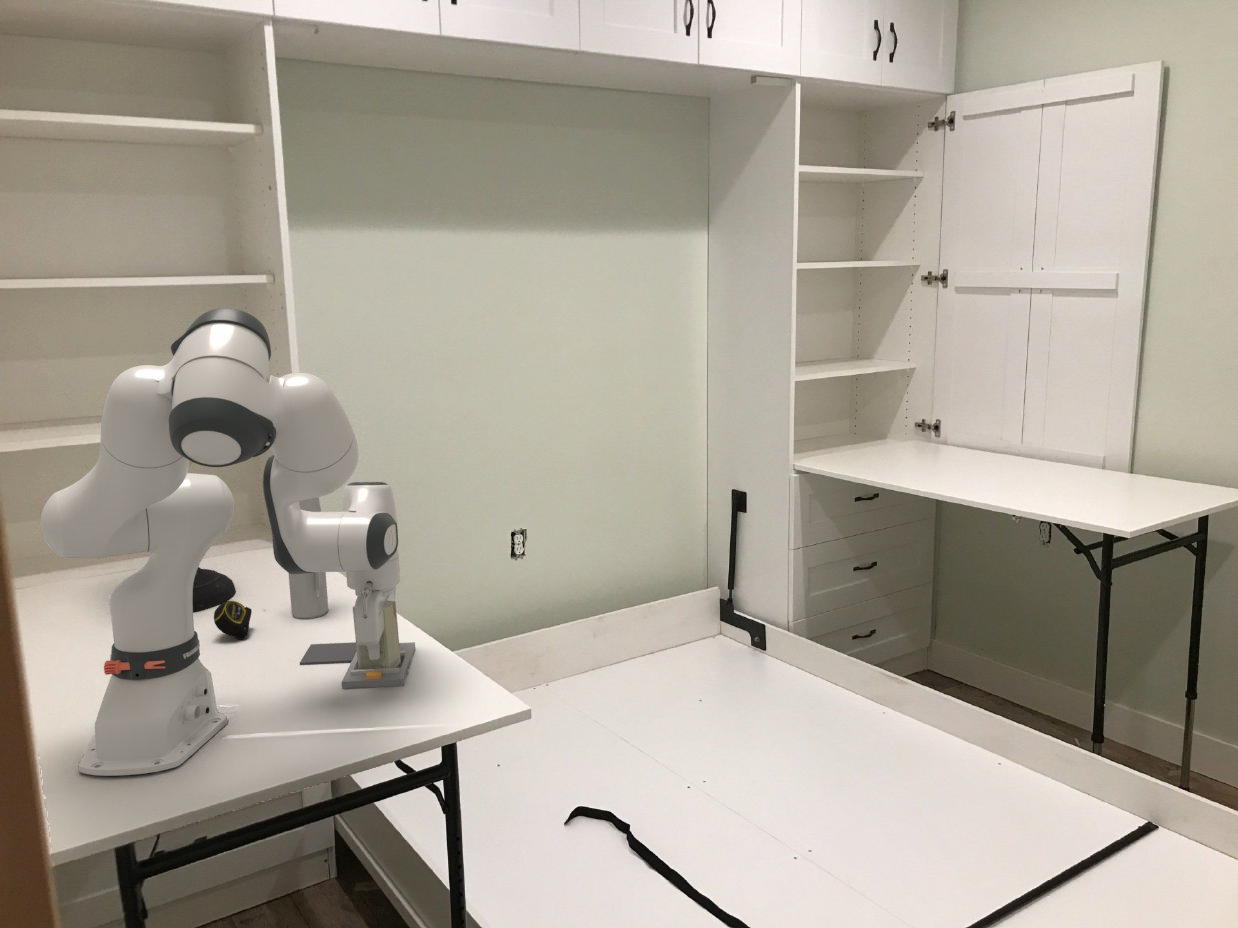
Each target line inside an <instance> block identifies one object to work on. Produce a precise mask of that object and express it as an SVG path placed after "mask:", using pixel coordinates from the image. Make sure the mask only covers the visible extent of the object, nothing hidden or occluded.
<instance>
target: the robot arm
mask: <svg viewBox="0 0 1238 928" xmlns="http://www.w3.org/2000/svg"><path fill="white" fill-rule="evenodd" d="M271 348H272V346H271V343H270V337H269V334H268V332H267V329H266V328H265V326H264V324H263V323H262V322H261V320H259V319H258V318H257V317H255V316H254V315H252V314H250V313H248V312H246V311H243V310H240V309H235V308H229V307H220V308H214V309H211V310H207V311H206V312H204V313H202V314H201V315H199V316H198V317H197V318H196V319H194V321H193V322H192V323H191V325H190V326H189V327H188V328H187V329H186V331H185V332H184V333H183V334H182V335H181V336H179V338H177V339H176V340H175V341H173V343H171V346H170V350H171V353H172V356H173V357H172V358H171V360H169V362H168V363H166V364H165V365H153V364H142V365H141V364H140V365H137V366H133V367H130V368H128V369H126V370H124V371H122V372H121V373H120V374H119V375H118V376H116V378H115V379H114V380H113V381H112V384H111V385H110V388H109V390H108V393H107V395H106V397H105V398H106V400H105V402H104V405H103V411H102V416H101V422H100V423H101V424H100V444H99V445H100V446H99V447H100V448H99V453H98V454H99V455H98V459H97V462H96V464H94V466H93V467H92V468H91V470H90V471H88V472H87V473H86V474H85V475H84V476H83V477H82V478H80V479H79V480H78V481H76V482H74V483H73V484H70V485H69V486H67V487H65V488H62V489H60V490H59V491H56V492H54V493H53V494H52V495H51V496H50V497H49V498H48V500H47V501H46V503H45V504H44V506H43V508H42V511H41V516H40V522H39V523H40V530H41V535H42V537H43V540H44V541H45V543H46V545H48V547H49V548H50V549H51V551H52V552H54V553H55V554H56V555H57V556H59V557H61V558H62V559H85V560H86V559H87V560H89V559H90V560H91V559H93V560H98V559H99V560H100V559H105V558H106V559H107V558H114V557H119V556H127V555H132V554H140V553H145V552H147V553H150V554H149V555H150V556H149V558H148V560H147V562H146V563H145V564H144V565H143V567H141V569H139V570H138V571H136V572H134V573H133V574H131V575H129V576H128V577H127V578H125V579H123V580H122V581H121V582H120V583H119V584H118V585H117V586H116V587H115V588H114V590H113V591H112V592H111V595H110V598H109V611H110V619H111V628H112V636H113V643H112V645H111V651H110V652H111V653H110V659H109V660H106V661H105V662H104V663H103V672H104V674H105V675H106V676H107V675H110V677H109V681H108V684H107V686H106V689H105V693H104V695H103V697H102V700H101V704H100V706H99V709H98V713H97V716H96V719H95V722H94V734H93V737H92V739H91V740H90V742H89V744H88V747H87V748H86V749H85V752H84V754H83V756H82V757H81V760H80V762H79V764H78V772H80V773H83V774H86V775H90V776H101V777H102V776H105V777H106V776H108V777H110V776H114V777H115V776H131V775H142V774H148V773H154V772H155V773H156V772H162V771H166V770H170V769H173V768H176V767H180V765H181V764H183V763H185V761H186V760H188V759H189V758H190V757H191V756H192V755H193V754H195V752H197V751H198V750H199V749H201V747H202V746H203V745H205V743H207V742H208V741H209V740H211V739H212V737H214V736H215V735H216V734H217V733H218V732H220V730H221V729H223V728H224V727H225V726H226V725H227V724H228V723H229V720H228V715H227V714H224V713H222V712H219V711H218V705H217V700H216V694H215V688H214V683H213V682H214V681H213V677H212V673H211V671H210V670H209V669H208V668H207V667H206V666H205V665H204V664H203V663H202V662H201V660H200V655H201V652H200V647H201V646H200V645H201V643H200V639H199V635H198V633H197V631H196V630H195V624H194V623H195V622H194V613H193V583H194V578H195V575H196V572H197V569H198V567H199V568H200V564H201V562H202V560H203V558H204V557H205V556H206V554H207V553H208V551H209V550H210V549H211V547H212V546H213V545H214V544H215V543H216V542H217V541H218V540H220V538H222V537H223V536H224V535H225V534H226V532H228V531H229V528H230V527H231V525H232V523H233V521H234V517H235V511H236V509H235V508H236V506H235V505H236V504H235V497H234V496H233V493H232V491H231V490H230V488H229V486H228V485H227V483H226V482H225V481H224V480H223V479H222V478H220V477H219V476H218V475H216V474H206V473H195V472H194V473H193V472H192V473H190V472H189V468H190V467H189V461H192V462H193V464H195V465H196V464H197V465H200V466H203V467H209V468H223V467H229V466H233V465H237V464H240V463H243V462H246V461H248V460H250V459H252V458H256V457H260V455H263V454H264V453H267V451H269V449H270V450H271V452H272V454H273V455H271V456H269V457H268V458H267V460H266V462H265V464H264V468H263V469H264V470H263V473H262V490H263V497H264V503H265V507H266V511H267V512H266V513H267V516H268V520H269V525H270V529H271V536H272V549H273V550H272V551H273V556H274V559H275V561H276V563H277V564H278V565H279V566H280V567H281V568H282V569H283V570H284V571H285V572H287V573H288V574H289V573H290V574H293V575H294V574H305V573H313V572H326V573H346V585H347V587H348V589H350V590H352V591H353V590H354V593H355V594H354V595H355V596H356V599H355V604H354V606H355V628H354V636H355V637H356V639H355V642H357V644H358V645H367V648H368V652H369V659H371V660H378V659H379V658H380V655H381V648H380V644H379V640H380V638H381V635H382V633H383V631H384V627H385V626H384V613H383V608H384V605H385V603H386V602H387V601H396V594H397V593H396V589H397V586H398V585H399V584H400V582H401V571H400V569H401V567H400V554H399V549H398V546H399V535H398V534H399V533H398V518H397V510H396V503H395V499H394V494H393V493H394V492H393V489H392V487H391V485H390V484H388V483H387V482H383V481H356V482H355V481H354V482H350V483H347V482H348V481H349V480H350V479H351V477H352V476H353V474H354V472H355V471H356V469H357V465H358V462H359V448H358V443H357V439H356V434H355V432H354V429H353V427H352V424H351V422H350V419H349V417H348V414H347V413H346V411H345V409H344V407H343V405H342V403H341V402H340V401H339V400H340V399H338V397H337V396H336V395H335V392H333V390H332V389H331V388H330V386H329V385H328V384H327V383H326V382H325V380H323V379H322V378H320V377H318V376H317V375H314V374H312V373H308V372H291V373H287V374H285V375H282V376H280V377H278V376H274V375H273V374H271V375H270V360H271V357H272V350H271ZM267 444H268V445H267ZM346 483H347V485H345V484H346ZM344 485H345V486H344ZM343 486H344V491H343V500H342V501H343V505H342V506H343V508H342V511H321V512H311V511H305V510H301V509H300V506H299V501H301V500H305V499H311V498H316V497H319V498H322V497H325V496H328V495H330V494H332V493H334V492H336V491H338V490H339V489H340V488H342V487H343ZM366 617H367V618H366ZM365 618H366V619H365ZM355 637H354V638H355Z"/></svg>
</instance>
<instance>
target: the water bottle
mask: <svg viewBox="0 0 1238 928" xmlns="http://www.w3.org/2000/svg"><path fill="white" fill-rule="evenodd" d="M299 506H300V509H301V510H305V511H311V512H322V508H321V503H320V497H316V498H311V499H305V500H301V501H299ZM288 581H289V583H288V584H289V595H290V597H289V598H290V609H291V614H292V616H293V617H294V618H296V619H299V618H300V620H310V618H311V619H315V618H319V617H322V616H324V614H325V615H326V614H327V612H328V611H329V601H328V597H329V596H328V586H327V572H313V573H305V574H294V575H293V574H290V573H288Z"/></svg>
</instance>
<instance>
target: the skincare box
mask: <svg viewBox="0 0 1238 928" xmlns="http://www.w3.org/2000/svg"><path fill="white" fill-rule="evenodd" d="M383 613H384V626H385V627H384V631H383V633H382V635H381V638H380V640H379V644H380V648H381V655H380V658H379V659H378V660H371V659H369V652H368V648H367V645H358V644H357V642H356V641H355V642H356V649H357V660H358V668H357V670H361V669H383V668H400V669H401V666H402V662H401V659H400V647H399V643H400V640H399V639H400V638H399V624H398V613H397V601H396V600H395V601H387V602H386V603H385V605H384V608H383ZM352 616H353V627H354V629H355V605H353V606H352ZM366 618H367V617H366ZM366 618H365V619H366ZM354 638H355V640H356V637H354Z"/></svg>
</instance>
